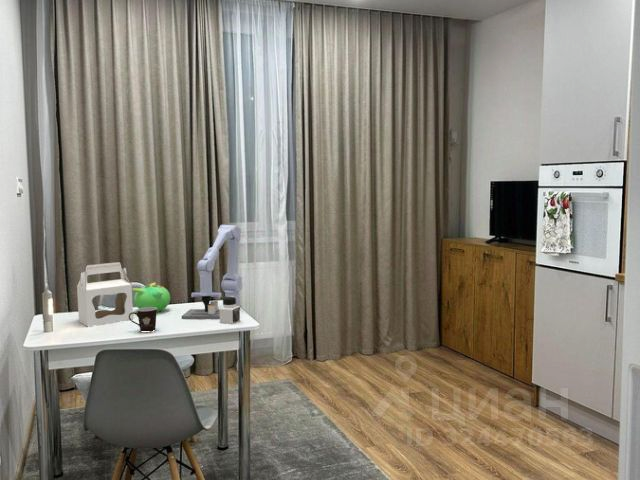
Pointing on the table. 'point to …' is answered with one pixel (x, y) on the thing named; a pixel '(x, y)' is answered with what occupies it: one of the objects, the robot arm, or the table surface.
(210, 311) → the breaker
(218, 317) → the plate
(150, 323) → the coffee mug
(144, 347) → the table surface
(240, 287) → the robot arm
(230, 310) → the medicine bottle
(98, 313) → the gable box
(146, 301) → the green teapot
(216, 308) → the breaker
